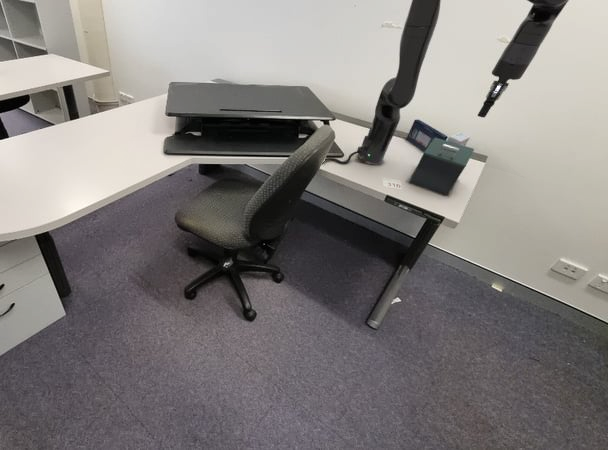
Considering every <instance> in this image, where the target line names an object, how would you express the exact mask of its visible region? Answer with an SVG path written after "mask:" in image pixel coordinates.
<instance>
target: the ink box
mask: <svg viewBox="0 0 608 450" xmlns="http://www.w3.org/2000/svg"><path fill="white" fill-rule="evenodd" d="M470 138H471V136H469V135H466V134H464V133H462V132H460V131H459V132H456V133H454V134H452V135H449V136H448V138H447V140H446V141H449V142H452V143H456V144H459V145H463V146H466V145H467V144H468V142H469V140H470Z"/></svg>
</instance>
